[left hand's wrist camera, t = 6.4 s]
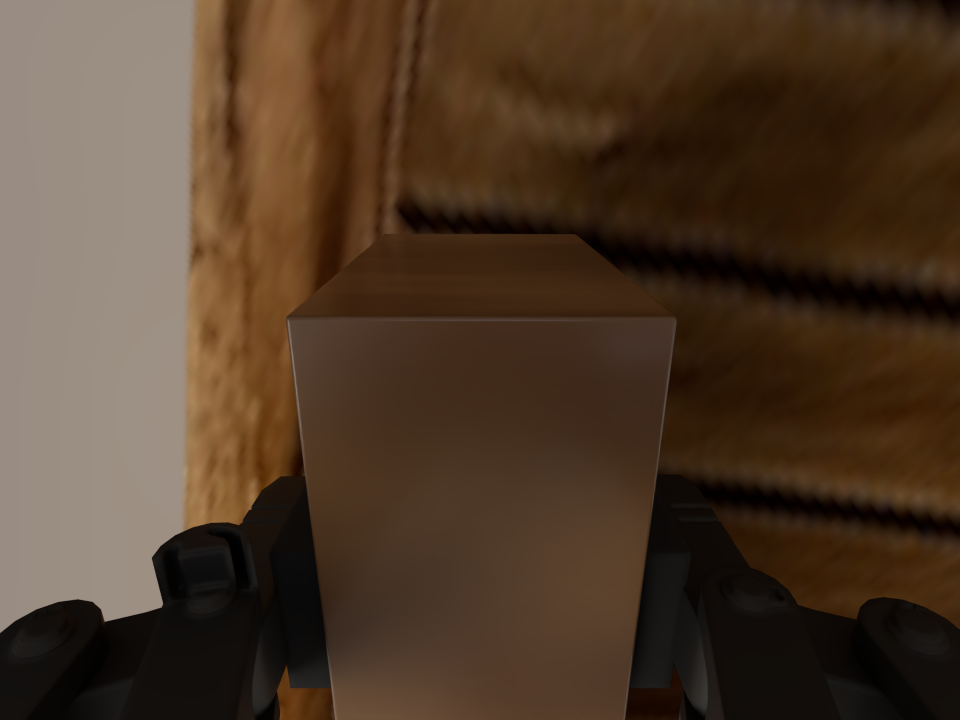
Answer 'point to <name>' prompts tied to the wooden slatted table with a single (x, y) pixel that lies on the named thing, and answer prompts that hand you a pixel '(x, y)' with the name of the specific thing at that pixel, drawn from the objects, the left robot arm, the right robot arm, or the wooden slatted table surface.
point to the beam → (480, 474)
